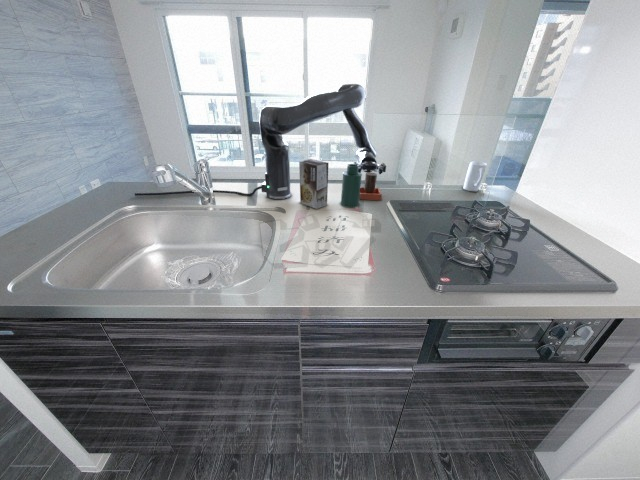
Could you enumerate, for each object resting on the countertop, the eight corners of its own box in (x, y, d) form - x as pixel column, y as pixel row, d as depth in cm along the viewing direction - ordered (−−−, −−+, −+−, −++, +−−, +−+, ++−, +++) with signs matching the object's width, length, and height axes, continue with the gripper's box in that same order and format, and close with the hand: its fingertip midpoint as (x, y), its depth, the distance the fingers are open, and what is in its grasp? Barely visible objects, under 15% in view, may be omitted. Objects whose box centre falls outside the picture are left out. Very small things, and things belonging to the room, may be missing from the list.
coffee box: (327, 205, 102) (329, 162, 94) (316, 209, 98) (317, 165, 90) (311, 198, 107) (311, 158, 100) (299, 203, 103) (298, 160, 95)
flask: (340, 206, 101) (343, 167, 93) (341, 200, 107) (343, 162, 99) (358, 207, 100) (362, 168, 93) (358, 201, 106) (362, 163, 99)
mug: (460, 186, 126) (468, 161, 120) (475, 187, 126) (483, 161, 120) (468, 193, 118) (476, 166, 112) (484, 194, 117) (493, 167, 111)
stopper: (363, 196, 110) (366, 175, 105) (363, 193, 114) (365, 172, 109) (374, 197, 109) (377, 175, 105) (373, 193, 113) (376, 172, 109)
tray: (357, 199, 108) (358, 193, 107) (357, 192, 116) (357, 186, 114) (380, 200, 108) (381, 194, 107) (378, 193, 115) (379, 188, 114)
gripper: (353, 153, 125) (354, 161, 111) (384, 154, 124) (388, 163, 110) (352, 169, 128) (352, 179, 114) (381, 170, 127) (386, 180, 113)
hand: (370, 171), depth 112 cm, fingers open, 8 cm apart
